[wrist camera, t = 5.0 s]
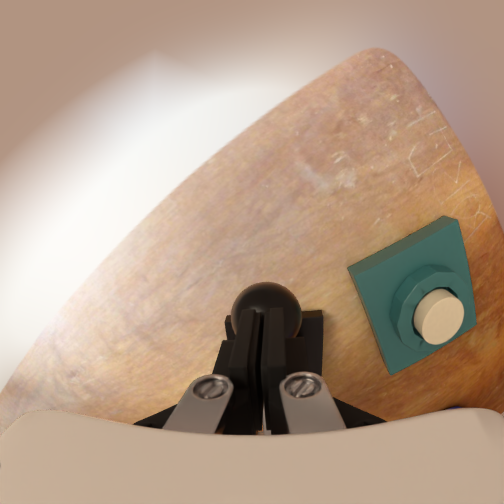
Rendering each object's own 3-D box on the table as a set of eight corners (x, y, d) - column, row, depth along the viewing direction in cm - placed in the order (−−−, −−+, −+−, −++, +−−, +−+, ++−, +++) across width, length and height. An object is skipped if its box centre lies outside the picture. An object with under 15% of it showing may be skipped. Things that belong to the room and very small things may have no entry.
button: (408, 304, 19) (417, 314, 18) (449, 279, 19) (460, 287, 17) (418, 342, 20) (426, 353, 18) (456, 318, 19) (466, 328, 18)
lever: (232, 276, 15) (221, 297, 11) (297, 272, 14) (303, 292, 11) (253, 452, 17) (249, 486, 14) (299, 451, 17) (301, 485, 13)
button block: (347, 267, 23) (360, 285, 19) (444, 215, 21) (470, 223, 17) (383, 362, 25) (396, 388, 21) (466, 314, 23) (486, 333, 19)
